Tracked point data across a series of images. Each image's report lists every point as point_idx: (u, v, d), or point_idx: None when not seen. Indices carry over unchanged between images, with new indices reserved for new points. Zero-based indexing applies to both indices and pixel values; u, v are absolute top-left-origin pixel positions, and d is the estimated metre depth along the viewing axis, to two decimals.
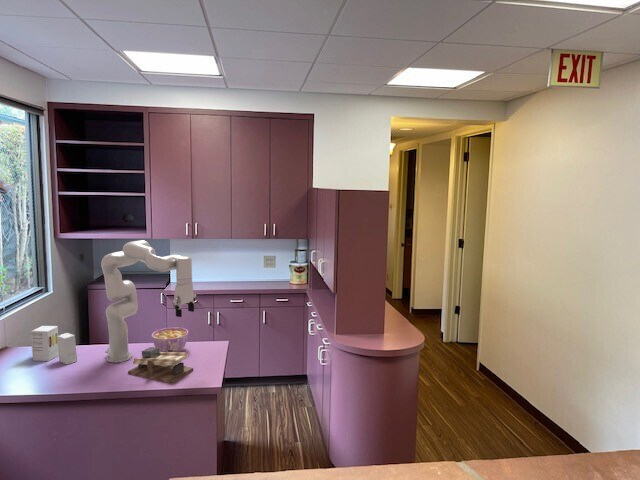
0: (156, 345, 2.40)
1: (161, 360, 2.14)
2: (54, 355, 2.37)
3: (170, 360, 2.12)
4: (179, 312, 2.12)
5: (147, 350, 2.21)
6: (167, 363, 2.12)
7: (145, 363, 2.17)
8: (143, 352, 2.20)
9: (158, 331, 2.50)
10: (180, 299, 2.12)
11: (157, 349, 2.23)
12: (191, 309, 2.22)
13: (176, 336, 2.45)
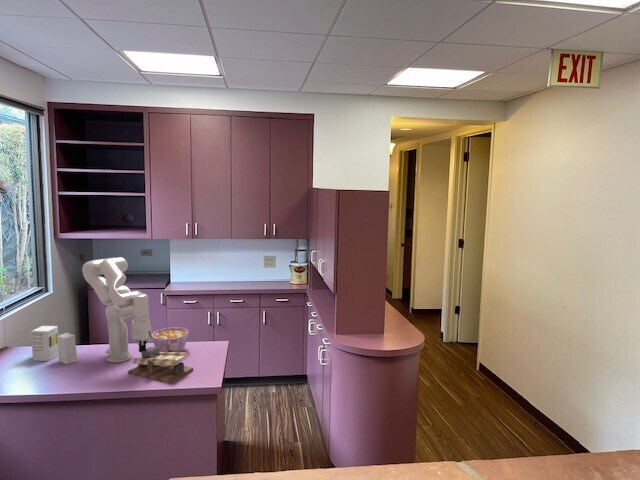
0: (156, 345, 2.40)
1: (161, 360, 2.14)
2: (54, 355, 2.37)
3: (170, 360, 2.12)
4: None
5: (147, 350, 2.21)
6: (167, 363, 2.12)
7: (145, 363, 2.17)
8: (143, 352, 2.20)
9: (158, 331, 2.50)
10: (150, 337, 2.23)
11: (157, 349, 2.23)
12: None
13: (176, 336, 2.45)
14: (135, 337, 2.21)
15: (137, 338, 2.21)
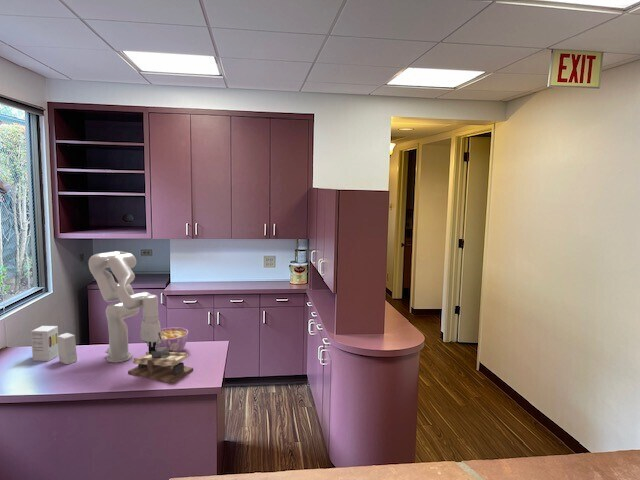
0: (156, 345, 2.40)
1: (161, 360, 2.14)
2: (54, 355, 2.37)
3: (170, 360, 2.12)
4: None
5: (157, 350, 2.19)
6: (167, 363, 2.12)
7: (145, 363, 2.17)
8: (153, 352, 2.18)
9: None
10: (159, 338, 2.21)
11: (167, 350, 2.21)
12: None
13: (176, 336, 2.45)
14: (145, 338, 2.19)
15: (147, 339, 2.19)
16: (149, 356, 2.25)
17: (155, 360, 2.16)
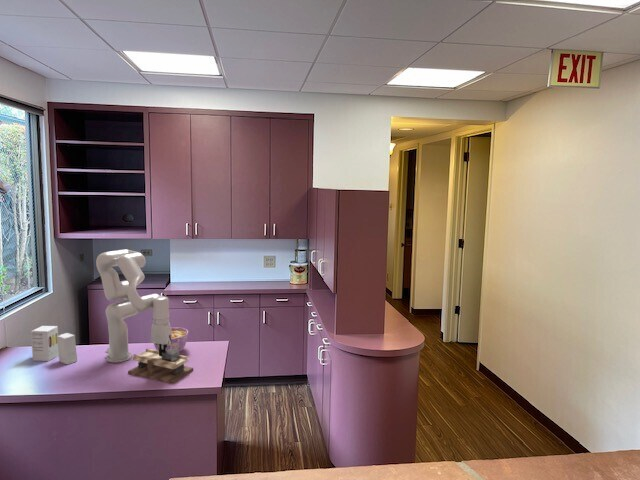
0: (156, 345, 2.40)
1: (162, 362, 2.14)
2: (54, 355, 2.37)
3: (171, 363, 2.12)
4: (164, 350, 2.20)
5: (168, 352, 2.16)
6: (167, 366, 2.12)
7: (145, 362, 2.17)
8: (163, 354, 2.16)
9: None
10: (170, 340, 2.19)
11: (177, 353, 2.19)
12: None
13: (176, 336, 2.45)
14: (155, 341, 2.17)
15: (157, 342, 2.16)
16: (149, 354, 2.25)
17: (155, 360, 2.16)
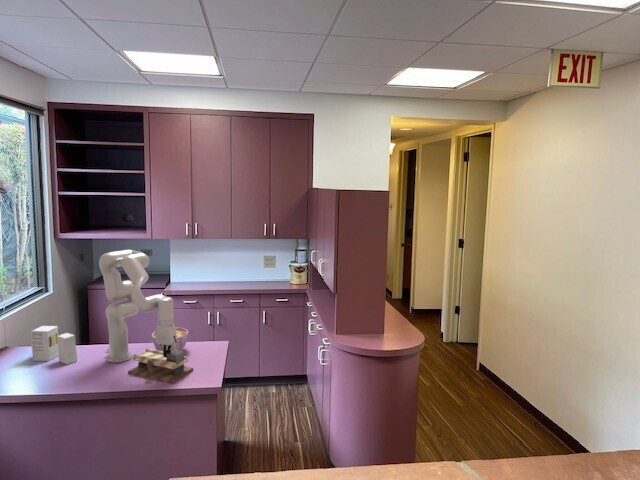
0: (156, 345, 2.40)
1: (162, 362, 2.14)
2: (54, 355, 2.37)
3: (171, 363, 2.12)
4: (169, 351, 2.19)
5: (172, 353, 2.15)
6: (167, 366, 2.12)
7: (145, 361, 2.17)
8: (168, 355, 2.15)
9: None
10: (174, 341, 2.18)
11: (182, 354, 2.18)
12: None
13: (176, 336, 2.45)
14: (160, 341, 2.16)
15: (162, 342, 2.15)
16: (149, 354, 2.25)
17: (155, 360, 2.16)
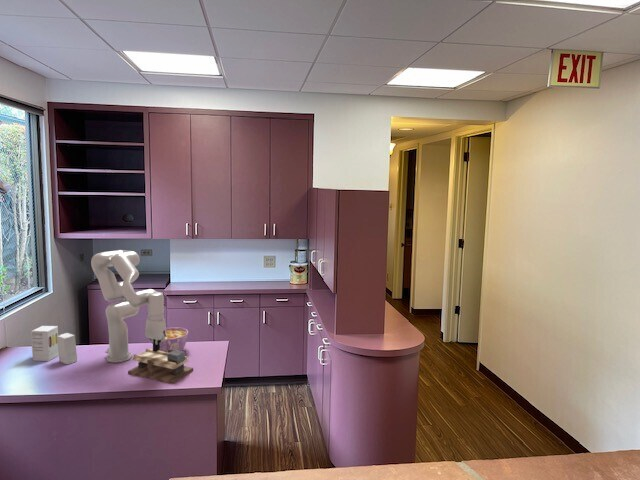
0: None
1: (162, 362, 2.14)
2: (54, 355, 2.37)
3: (171, 363, 2.12)
4: None
5: (173, 353, 2.15)
6: (167, 366, 2.12)
7: (145, 361, 2.17)
8: (169, 355, 2.15)
9: None
10: None
11: (183, 354, 2.17)
12: None
13: (176, 336, 2.45)
14: (149, 336, 2.18)
15: (151, 337, 2.17)
16: (149, 354, 2.25)
17: (155, 360, 2.16)
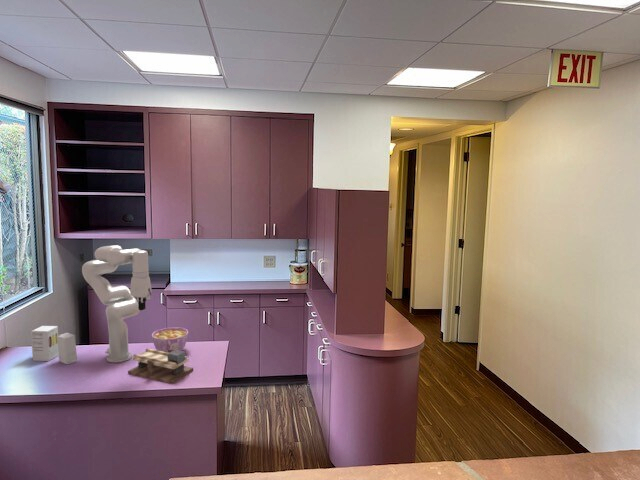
0: (156, 345, 2.40)
1: (162, 362, 2.14)
2: (54, 355, 2.37)
3: (171, 363, 2.12)
4: None
5: (173, 353, 2.15)
6: (167, 366, 2.12)
7: (145, 361, 2.17)
8: (169, 355, 2.15)
9: (158, 331, 2.50)
10: None
11: (183, 354, 2.17)
12: None
13: (176, 336, 2.45)
14: (134, 294, 2.18)
15: (136, 295, 2.18)
16: (149, 354, 2.25)
17: (155, 360, 2.16)
